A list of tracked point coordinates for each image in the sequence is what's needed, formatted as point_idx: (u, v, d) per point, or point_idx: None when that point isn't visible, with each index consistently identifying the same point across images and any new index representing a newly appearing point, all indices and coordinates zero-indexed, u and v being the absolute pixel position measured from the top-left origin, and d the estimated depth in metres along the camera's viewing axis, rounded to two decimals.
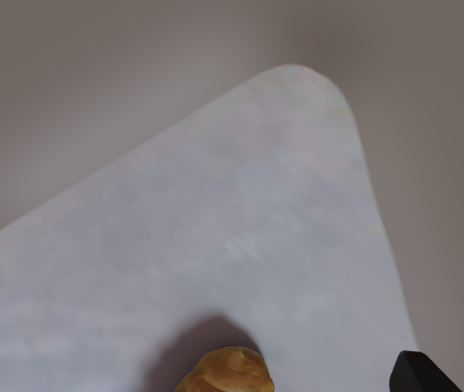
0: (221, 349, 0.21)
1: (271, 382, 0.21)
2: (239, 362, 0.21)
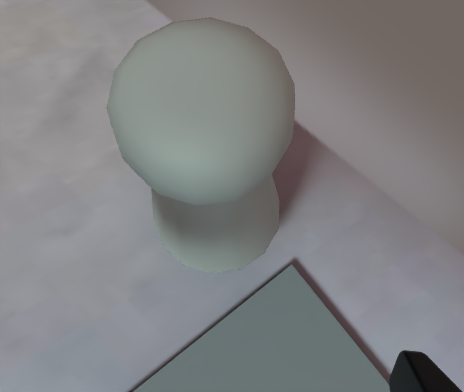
0: None
1: None
2: None
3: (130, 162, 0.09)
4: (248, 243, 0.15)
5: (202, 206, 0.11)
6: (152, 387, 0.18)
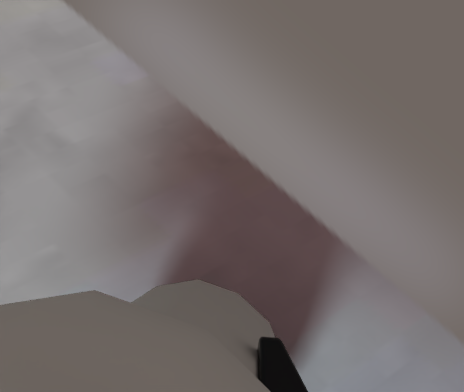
0: None
1: None
2: None
3: None
4: None
5: None
6: None
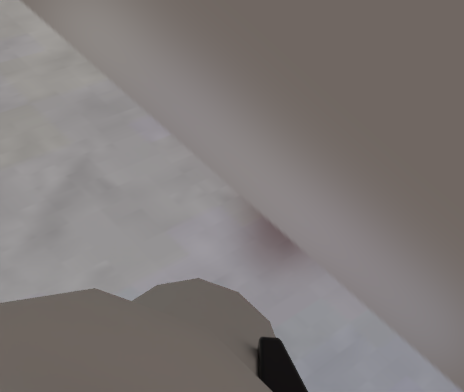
0: None
1: None
2: None
3: None
4: None
5: None
6: None
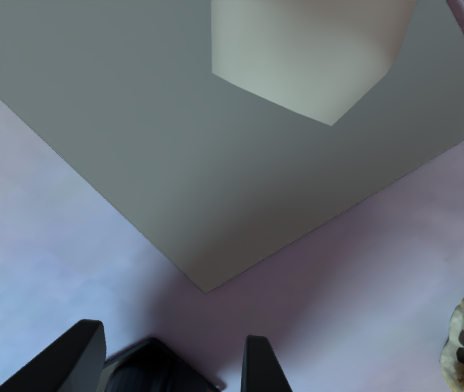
0: None
1: None
2: None
3: None
4: None
5: None
6: None
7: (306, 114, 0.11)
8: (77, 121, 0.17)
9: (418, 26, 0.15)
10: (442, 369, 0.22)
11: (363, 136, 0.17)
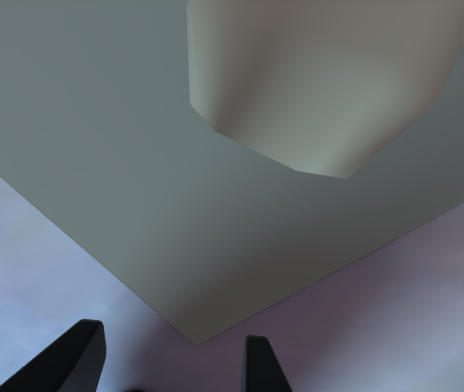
0: None
1: None
2: None
3: None
4: None
5: None
6: None
7: (311, 171, 0.08)
8: (34, 149, 0.14)
9: None
10: None
11: (389, 168, 0.13)
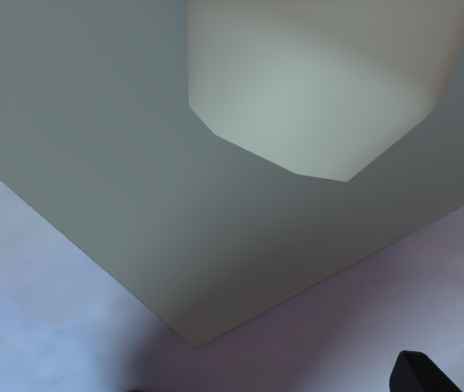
0: None
1: None
2: None
3: None
4: None
5: None
6: None
7: (311, 174, 0.08)
8: (32, 151, 0.14)
9: None
10: None
11: (389, 170, 0.13)
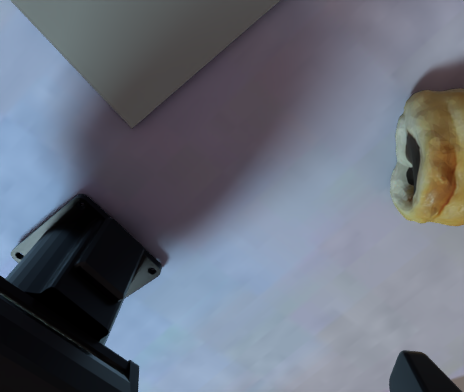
0: None
1: None
2: None
3: None
4: None
5: None
6: None
7: None
8: None
9: None
10: (393, 197, 0.20)
11: None
